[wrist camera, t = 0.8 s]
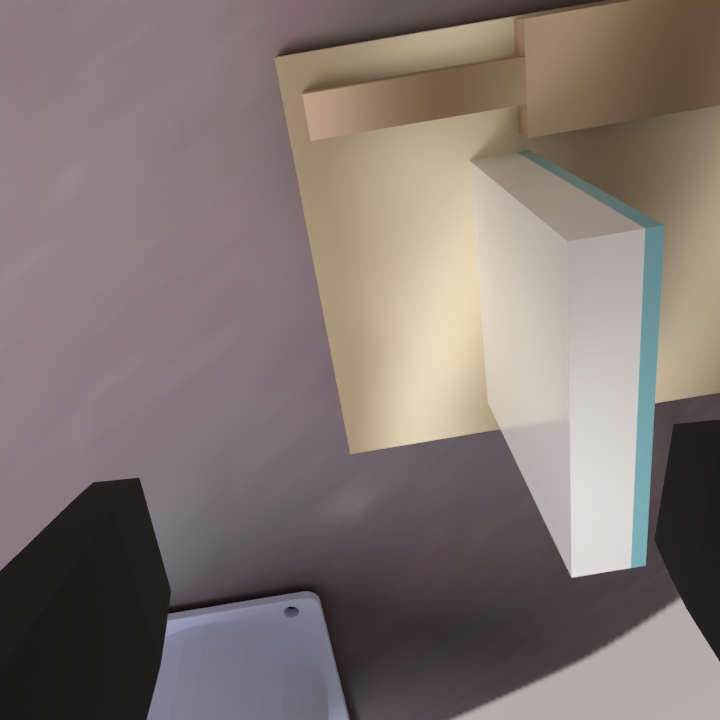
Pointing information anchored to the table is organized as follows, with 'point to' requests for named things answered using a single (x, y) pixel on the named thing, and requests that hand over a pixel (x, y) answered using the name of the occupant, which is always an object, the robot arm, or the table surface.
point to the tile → (571, 350)
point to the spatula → (552, 74)
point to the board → (457, 234)
